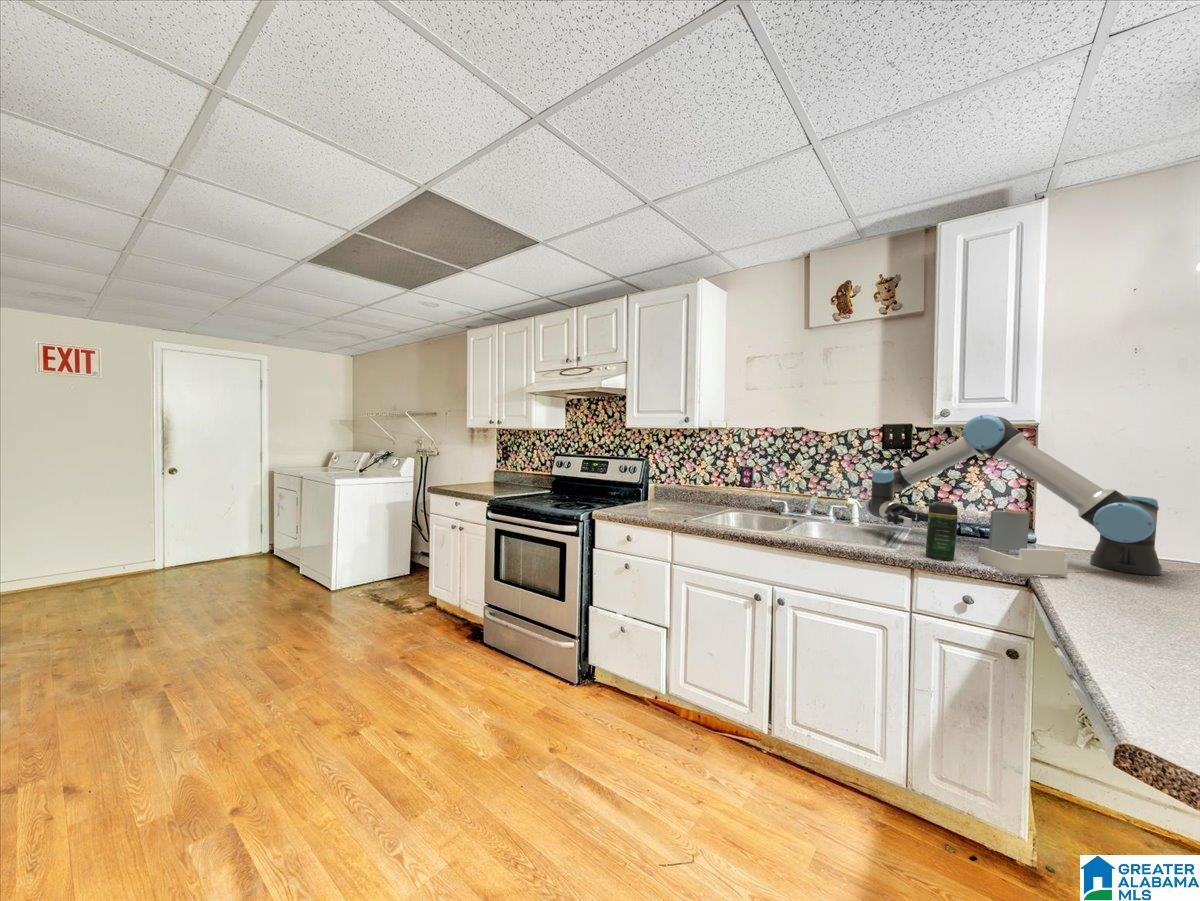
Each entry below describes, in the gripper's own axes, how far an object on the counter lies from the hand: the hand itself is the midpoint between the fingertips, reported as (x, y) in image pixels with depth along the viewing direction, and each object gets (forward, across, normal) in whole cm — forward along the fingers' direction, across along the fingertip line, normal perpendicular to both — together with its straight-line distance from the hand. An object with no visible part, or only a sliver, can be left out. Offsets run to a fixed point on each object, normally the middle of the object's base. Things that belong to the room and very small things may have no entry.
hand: (931, 523), depth 162 cm
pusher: (+13, -17, -5) cm, 22 cm away
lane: (+17, -17, -10) cm, 26 cm away
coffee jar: (+5, 0, -10) cm, 12 cm away
